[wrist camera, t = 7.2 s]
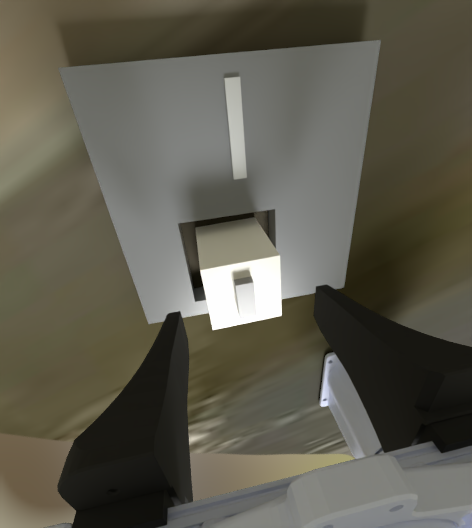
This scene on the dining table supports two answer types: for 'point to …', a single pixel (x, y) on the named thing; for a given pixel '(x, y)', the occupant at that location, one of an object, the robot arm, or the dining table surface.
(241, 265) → the block
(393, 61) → the dining table surface
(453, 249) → the dining table surface
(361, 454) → the robot arm
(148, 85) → the socket plate
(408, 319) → the dining table surface
